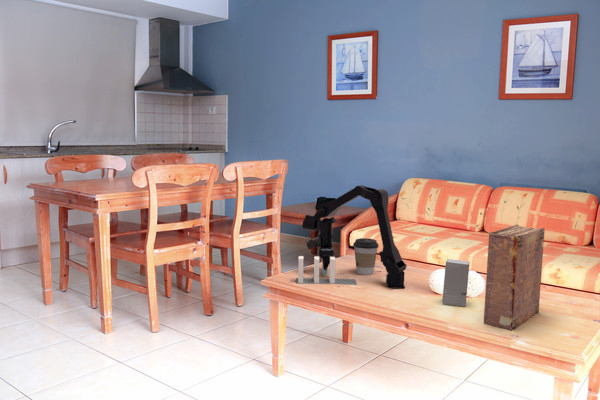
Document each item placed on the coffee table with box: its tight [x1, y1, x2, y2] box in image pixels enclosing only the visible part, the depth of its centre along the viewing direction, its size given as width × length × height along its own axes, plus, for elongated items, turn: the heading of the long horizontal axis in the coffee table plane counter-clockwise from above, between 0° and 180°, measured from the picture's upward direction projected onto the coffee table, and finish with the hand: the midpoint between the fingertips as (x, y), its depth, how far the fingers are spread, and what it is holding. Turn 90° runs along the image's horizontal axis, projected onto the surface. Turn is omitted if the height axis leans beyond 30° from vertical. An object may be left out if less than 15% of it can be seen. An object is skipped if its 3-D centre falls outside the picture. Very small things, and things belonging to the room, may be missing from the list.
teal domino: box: [321, 259, 328, 276], centre depth 229 cm, size 2×5×10 cm, turn 0°
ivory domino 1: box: [313, 255, 320, 283], centre depth 217 cm, size 2×5×10 cm, turn 0°
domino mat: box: [295, 277, 358, 286], centre depth 218 cm, size 25×8×1 cm, turn 90°
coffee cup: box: [352, 237, 379, 276], centre depth 232 cm, size 11×11×15 cm
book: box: [483, 224, 545, 331], centre depth 176 cm, size 25×9×30 cm, turn 138°
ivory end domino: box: [297, 255, 305, 283], centre depth 217 cm, size 2×5×10 cm, turn 0°
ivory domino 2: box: [328, 256, 336, 285], centre depth 216 cm, size 2×5×10 cm, turn 0°
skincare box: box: [441, 258, 471, 308], centre depth 191 cm, size 8×7×16 cm
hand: (324, 267), depth 230 cm, fingers open, 8 cm apart
